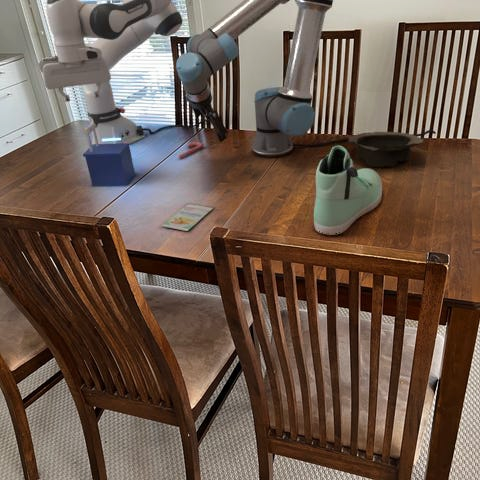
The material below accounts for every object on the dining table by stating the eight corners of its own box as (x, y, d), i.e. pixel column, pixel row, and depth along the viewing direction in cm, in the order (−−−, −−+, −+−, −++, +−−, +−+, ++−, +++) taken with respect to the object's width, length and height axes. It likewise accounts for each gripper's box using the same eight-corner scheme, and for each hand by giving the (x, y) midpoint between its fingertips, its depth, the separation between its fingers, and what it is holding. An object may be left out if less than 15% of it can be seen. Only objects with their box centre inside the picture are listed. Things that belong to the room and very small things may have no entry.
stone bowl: (380, 178, 154) (381, 150, 149) (333, 160, 174) (332, 135, 170) (437, 159, 162) (439, 132, 158) (385, 144, 183) (386, 120, 178)
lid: (83, 156, 160) (76, 130, 155) (94, 146, 168) (88, 121, 163) (120, 155, 158) (114, 129, 154) (129, 145, 166) (124, 120, 162)
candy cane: (169, 157, 184) (168, 153, 183) (194, 144, 194) (193, 140, 193) (180, 159, 181) (180, 155, 180) (205, 146, 191) (205, 142, 190)
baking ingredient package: (160, 225, 137) (188, 203, 148) (161, 226, 137) (188, 204, 148) (187, 230, 133) (213, 207, 145) (187, 231, 133) (213, 208, 145)
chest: (92, 186, 166) (85, 156, 160) (102, 174, 174) (95, 146, 168) (126, 185, 164) (120, 156, 158) (135, 174, 172) (129, 145, 166)
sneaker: (389, 187, 148) (396, 123, 138) (356, 242, 123) (361, 168, 112) (346, 181, 154) (350, 119, 144) (306, 232, 129) (307, 161, 118)
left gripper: (36, 60, 143) (48, 106, 150) (105, 51, 147) (115, 97, 154) (37, 56, 148) (50, 101, 155) (104, 48, 152) (113, 92, 159)
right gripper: (166, 76, 155) (181, 111, 175) (213, 125, 147) (224, 156, 167) (184, 62, 155) (197, 99, 176) (232, 110, 148) (240, 143, 168)
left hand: (82, 99), depth 155 cm, fingers open, 8 cm apart
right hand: (210, 127), depth 172 cm, fingers open, 13 cm apart
